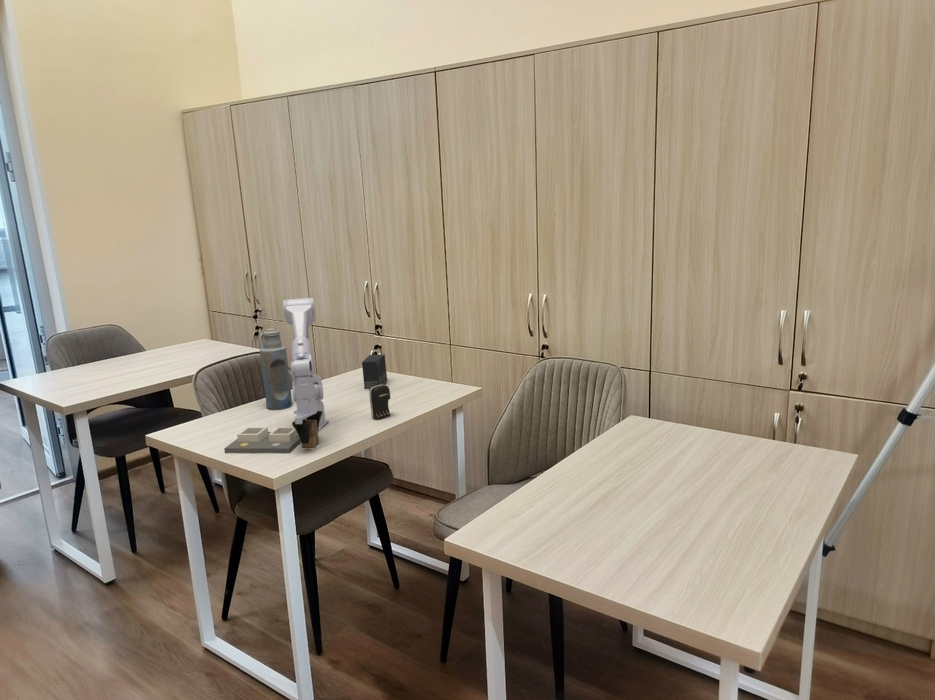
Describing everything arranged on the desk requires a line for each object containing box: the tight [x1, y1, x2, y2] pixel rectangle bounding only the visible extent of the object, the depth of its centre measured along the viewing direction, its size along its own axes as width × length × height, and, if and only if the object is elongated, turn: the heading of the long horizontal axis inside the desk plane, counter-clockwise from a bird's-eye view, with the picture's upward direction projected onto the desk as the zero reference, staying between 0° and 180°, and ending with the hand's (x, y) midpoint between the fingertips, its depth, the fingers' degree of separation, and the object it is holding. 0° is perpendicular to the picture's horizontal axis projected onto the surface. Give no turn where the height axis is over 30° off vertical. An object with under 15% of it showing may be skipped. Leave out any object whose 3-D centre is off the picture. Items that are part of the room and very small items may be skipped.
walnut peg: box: [301, 420, 320, 449], centre depth 205 cm, size 4×4×8 cm
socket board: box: [223, 426, 302, 454], centre depth 209 cm, size 15×21×4 cm
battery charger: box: [368, 384, 391, 420], centre depth 230 cm, size 7×4×11 cm, turn 135°
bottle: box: [259, 327, 293, 411], centre depth 248 cm, size 10×10×30 cm
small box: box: [361, 353, 388, 390], centre depth 272 cm, size 13×7×12 cm, turn 174°
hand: (309, 438), depth 206 cm, fingers open, 7 cm apart
